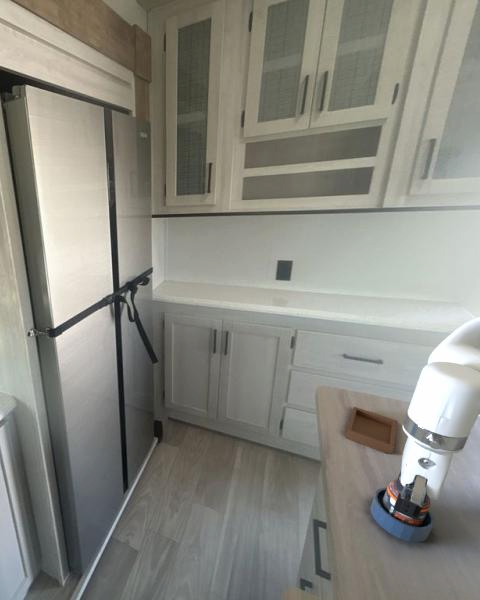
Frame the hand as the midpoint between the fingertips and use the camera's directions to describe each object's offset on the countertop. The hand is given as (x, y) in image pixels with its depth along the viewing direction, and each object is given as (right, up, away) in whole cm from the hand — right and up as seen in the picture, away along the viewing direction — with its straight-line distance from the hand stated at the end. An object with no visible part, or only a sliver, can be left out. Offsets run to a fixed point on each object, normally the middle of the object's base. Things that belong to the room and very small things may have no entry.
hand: (406, 500), depth 64 cm
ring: (+1, -6, +3) cm, 7 cm away
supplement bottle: (+1, -6, +3) cm, 7 cm away
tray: (+14, +4, +24) cm, 28 cm away
